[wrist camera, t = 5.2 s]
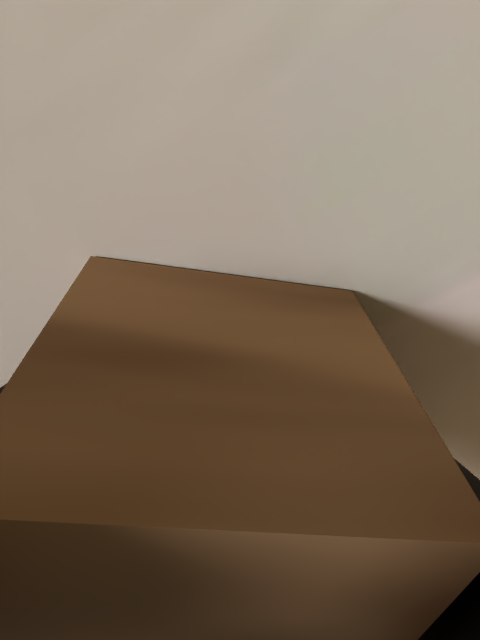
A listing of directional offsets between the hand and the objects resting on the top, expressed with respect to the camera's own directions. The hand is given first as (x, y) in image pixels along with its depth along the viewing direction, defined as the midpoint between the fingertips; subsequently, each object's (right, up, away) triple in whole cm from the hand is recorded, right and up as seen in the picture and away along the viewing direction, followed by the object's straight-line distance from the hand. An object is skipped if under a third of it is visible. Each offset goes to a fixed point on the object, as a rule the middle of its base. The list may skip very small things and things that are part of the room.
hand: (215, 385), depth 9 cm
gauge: (-1, -2, +3) cm, 4 cm away
